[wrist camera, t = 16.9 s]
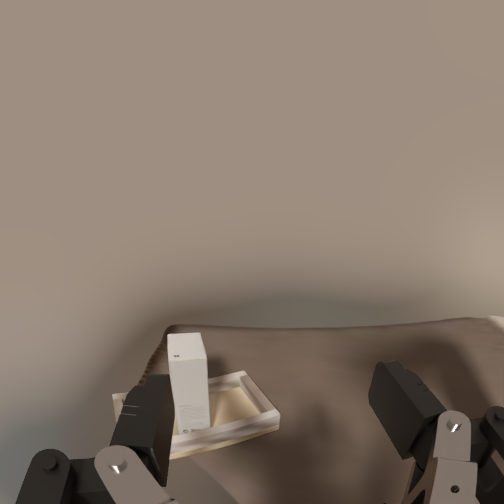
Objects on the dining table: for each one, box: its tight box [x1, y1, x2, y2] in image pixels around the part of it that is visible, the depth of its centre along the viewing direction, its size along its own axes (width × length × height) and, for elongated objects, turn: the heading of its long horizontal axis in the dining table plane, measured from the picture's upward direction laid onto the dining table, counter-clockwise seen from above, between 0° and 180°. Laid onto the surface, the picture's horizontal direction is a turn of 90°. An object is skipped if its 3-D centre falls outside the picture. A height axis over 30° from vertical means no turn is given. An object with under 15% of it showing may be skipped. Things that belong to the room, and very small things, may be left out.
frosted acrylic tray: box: [113, 371, 280, 460], centre depth 36 cm, size 20×11×3 cm, turn 116°
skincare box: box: [167, 333, 211, 435], centre depth 34 cm, size 6×4×12 cm
